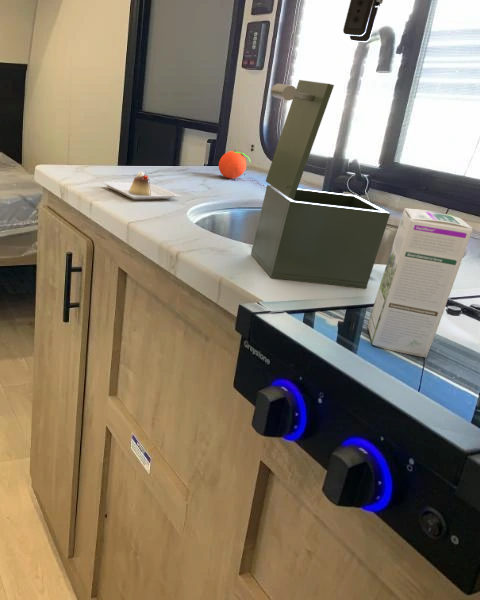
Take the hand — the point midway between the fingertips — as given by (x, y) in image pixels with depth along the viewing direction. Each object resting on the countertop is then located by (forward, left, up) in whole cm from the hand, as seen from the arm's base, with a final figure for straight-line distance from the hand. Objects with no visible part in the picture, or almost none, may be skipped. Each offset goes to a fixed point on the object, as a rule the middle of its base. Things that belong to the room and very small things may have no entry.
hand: (356, 38), depth 68 cm
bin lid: (0, -9, -12) cm, 15 cm away
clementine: (-11, -81, -31) cm, 87 cm away
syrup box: (-7, +14, -31) cm, 35 cm away
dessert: (+16, -49, -31) cm, 60 cm away
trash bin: (-5, -9, -31) cm, 32 cm away
